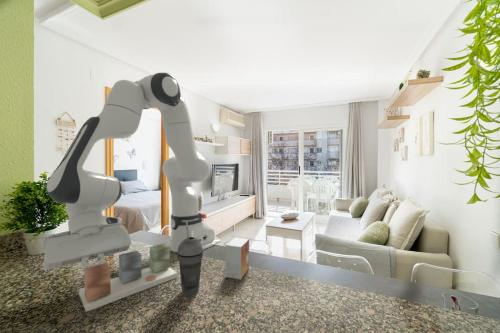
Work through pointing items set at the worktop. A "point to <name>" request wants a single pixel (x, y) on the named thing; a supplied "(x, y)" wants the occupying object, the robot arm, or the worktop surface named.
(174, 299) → the worktop surface
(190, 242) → the beverage cup
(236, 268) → the small box
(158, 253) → the sage green block
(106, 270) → the pink tall block
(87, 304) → the base
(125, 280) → the grey tall block
